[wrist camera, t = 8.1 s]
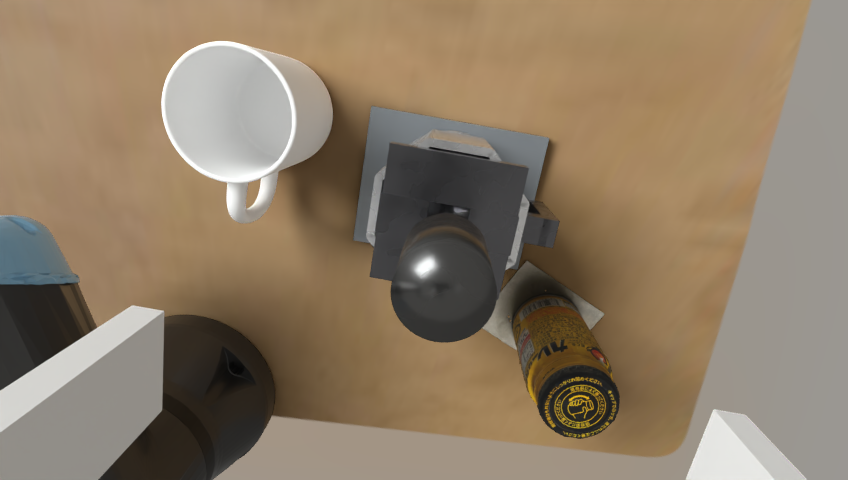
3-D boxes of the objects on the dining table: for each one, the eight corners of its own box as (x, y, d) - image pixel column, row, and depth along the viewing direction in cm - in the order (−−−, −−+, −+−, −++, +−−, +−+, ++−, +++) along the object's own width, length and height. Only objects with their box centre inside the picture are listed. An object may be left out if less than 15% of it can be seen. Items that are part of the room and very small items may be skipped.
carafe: (380, 237, 40) (355, 285, 30) (398, 120, 38) (377, 127, 27) (520, 262, 40) (545, 319, 30) (548, 147, 38) (586, 165, 27)
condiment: (551, 372, 44) (586, 468, 33) (475, 322, 43) (484, 403, 32) (603, 312, 42) (661, 392, 31) (526, 259, 41) (555, 320, 30)
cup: (340, 66, 38) (302, 54, 28) (324, 214, 41) (285, 250, 31) (236, 48, 38) (161, 29, 28) (228, 197, 41) (159, 227, 31)
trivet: (355, 237, 41) (353, 240, 41) (373, 106, 38) (371, 106, 38) (516, 266, 41) (517, 269, 41) (547, 137, 38) (549, 137, 37)
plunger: (392, 234, 37) (338, 360, 19) (407, 141, 35) (362, 184, 17) (484, 251, 37) (516, 393, 19) (504, 158, 35) (561, 220, 17)
